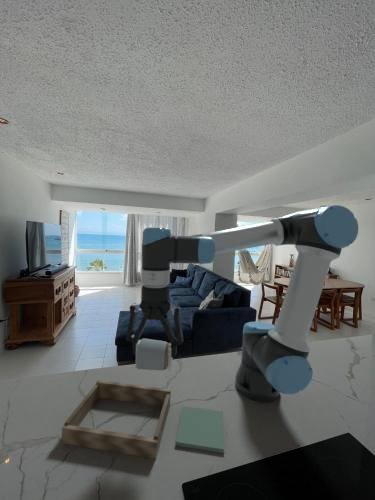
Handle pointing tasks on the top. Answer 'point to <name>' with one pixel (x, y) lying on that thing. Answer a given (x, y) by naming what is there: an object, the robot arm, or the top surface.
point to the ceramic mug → (152, 355)
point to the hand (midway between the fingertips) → (154, 366)
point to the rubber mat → (201, 429)
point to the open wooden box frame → (113, 439)
